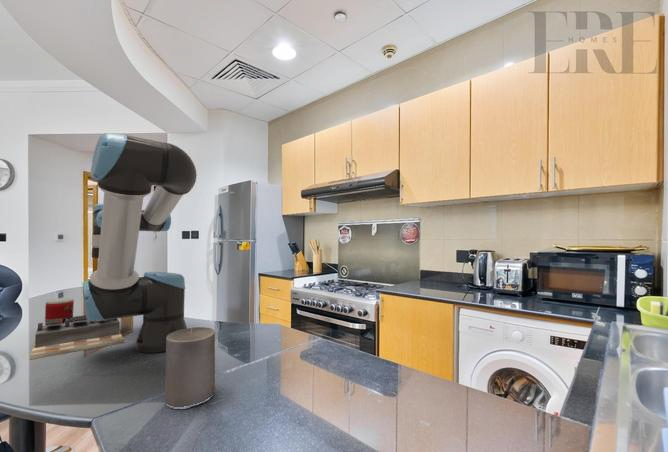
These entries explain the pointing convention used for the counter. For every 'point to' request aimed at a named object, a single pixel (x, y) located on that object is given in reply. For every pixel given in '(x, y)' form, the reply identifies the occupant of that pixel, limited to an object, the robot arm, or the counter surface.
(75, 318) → the rocker middle
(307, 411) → the counter surface
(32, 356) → the switch unit
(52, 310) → the canned food
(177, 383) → the pillar candle
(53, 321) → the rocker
